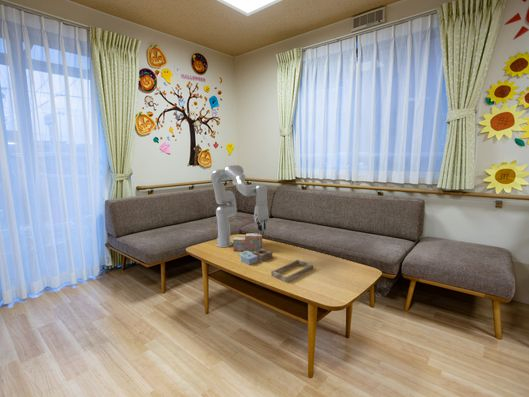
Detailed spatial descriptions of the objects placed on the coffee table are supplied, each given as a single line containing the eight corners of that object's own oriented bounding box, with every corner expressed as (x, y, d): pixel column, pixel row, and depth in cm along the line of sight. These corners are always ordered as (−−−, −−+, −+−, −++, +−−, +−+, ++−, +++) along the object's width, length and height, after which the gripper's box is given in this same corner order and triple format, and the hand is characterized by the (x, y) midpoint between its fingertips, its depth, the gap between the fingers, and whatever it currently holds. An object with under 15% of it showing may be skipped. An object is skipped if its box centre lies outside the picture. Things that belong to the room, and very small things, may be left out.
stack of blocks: (233, 251, 207) (232, 235, 205) (234, 248, 213) (234, 233, 211) (261, 251, 206) (261, 235, 204) (262, 248, 212) (262, 233, 210)
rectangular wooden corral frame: (271, 275, 165) (271, 271, 165) (297, 263, 183) (297, 259, 182) (287, 282, 157) (287, 278, 156) (313, 269, 174) (313, 264, 174)
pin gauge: (258, 234, 191) (258, 220, 190) (262, 233, 193) (261, 219, 192) (261, 235, 189) (261, 220, 188) (265, 234, 191) (264, 220, 190)
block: (241, 261, 187) (241, 255, 187) (249, 258, 193) (249, 252, 192) (249, 264, 182) (248, 259, 181) (257, 261, 187) (257, 255, 187)
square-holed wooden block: (252, 257, 194) (251, 252, 194) (262, 253, 201) (262, 248, 201) (262, 261, 187) (262, 255, 187) (272, 257, 194) (272, 251, 194)
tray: (238, 256, 197) (238, 253, 197) (246, 253, 203) (246, 250, 202) (245, 259, 192) (245, 256, 191) (254, 256, 197) (254, 253, 197)
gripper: (266, 201, 196) (266, 226, 199) (248, 204, 185) (249, 231, 188) (273, 202, 191) (273, 228, 194) (256, 206, 179) (257, 233, 183)
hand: (261, 229), depth 191 cm, fingers closed on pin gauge, 3 cm apart
